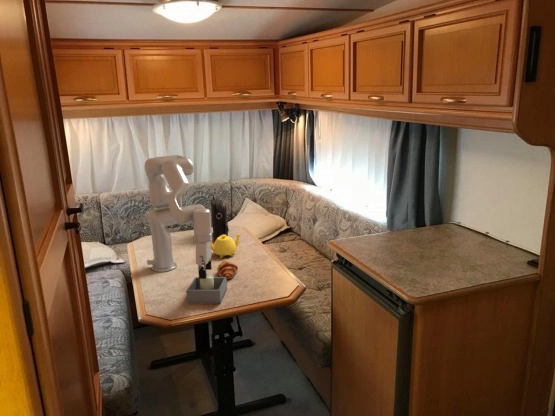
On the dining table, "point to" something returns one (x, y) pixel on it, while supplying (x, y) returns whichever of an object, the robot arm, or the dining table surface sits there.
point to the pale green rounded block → (207, 283)
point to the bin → (207, 292)
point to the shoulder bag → (219, 217)
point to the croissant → (227, 269)
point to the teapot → (225, 245)
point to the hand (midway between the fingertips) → (205, 273)
